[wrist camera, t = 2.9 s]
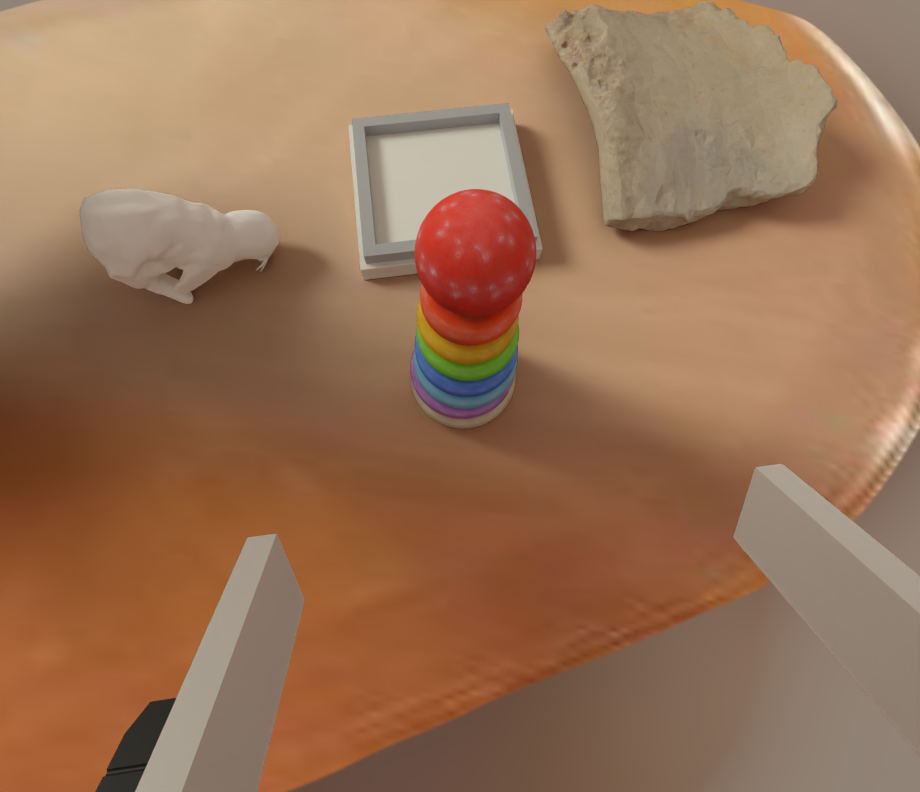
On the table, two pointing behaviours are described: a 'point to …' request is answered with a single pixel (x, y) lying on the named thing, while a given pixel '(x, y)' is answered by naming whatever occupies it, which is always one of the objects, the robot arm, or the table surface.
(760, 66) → the tablet
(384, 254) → the tray
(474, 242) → the stacking toy
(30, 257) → the table surface
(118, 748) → the robot arm
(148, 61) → the table surface
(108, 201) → the lumpy white figurine
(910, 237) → the table surface
